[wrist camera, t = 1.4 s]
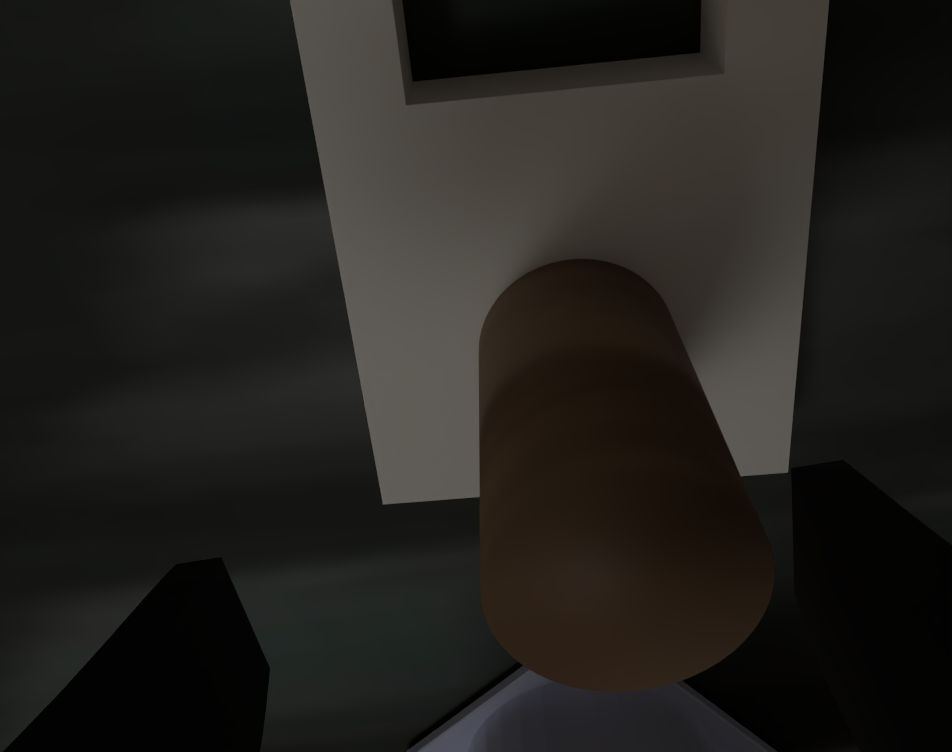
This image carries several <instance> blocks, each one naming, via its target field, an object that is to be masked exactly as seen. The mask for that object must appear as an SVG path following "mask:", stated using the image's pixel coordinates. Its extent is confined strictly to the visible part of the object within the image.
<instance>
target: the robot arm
mask: <svg viewBox="0 0 952 752" xmlns="http://www.w3.org/2000/svg"><path fill="white" fill-rule="evenodd" d="M791 477H792V513H793V549H794V584H795V595H796V598H797V601H798V604H799V607H800V610H801V613H802V616H803V619H804V622H805V625H806V628H807V631H808V634H809V637H810V640H811V643H812V645H813V648H814V651H815V654H816V657H817V660H818V662H819V665H820V668H821V670H822V672H823V675H824V677H825V679H826V681H827V683H828V685H829V687H830V689H831V692H832V694H833V696H834V698H835V700H836V702H837V704H838V706H839V708H840V710H841V712H842V714H843V716H844V719H845V721H846V723H847V725H848V727H849V729H850V731H851V733H852V735H853V737H854V739H855V741H856V743H857V745H858V747H859V749H860V752H952V545H951V544H949V543H948V542H947V541H945V540H944V539H943V538H941V537H940V536H939V535H938V534H936V533H935V532H934V531H932V530H931V529H930V528H928V527H927V526H926V525H925V524H923V523H922V522H921V521H919V520H918V519H917V518H916V517H914V516H913V515H912V514H910V513H909V512H908V511H907V510H905V509H904V508H903V507H902V506H900V505H899V504H898V503H897V502H895V501H894V500H893V499H892V498H890V497H889V496H888V495H887V494H885V493H884V492H883V491H882V490H880V489H879V488H878V487H877V486H875V485H874V484H873V483H872V482H870V481H869V480H868V479H867V478H865V477H864V476H863V475H862V474H860V473H859V472H858V471H857V470H855V469H854V468H853V467H852V466H850V465H849V464H847V463H846V462H845V461H843V460H841V461H834V462H828V463H821V464H815V465H809V466H802V467H796V468H791ZM269 673H270V667H269V665H268V663H267V661H266V658H265V656H264V654H263V651H262V649H261V647H260V645H259V642H258V640H257V638H256V636H255V633H254V631H253V629H252V626H251V624H250V622H249V620H248V617H247V615H246V613H245V610H244V608H243V606H242V604H241V601H240V599H239V597H238V595H237V592H236V590H235V588H234V585H233V583H232V581H231V579H230V576H229V574H228V572H227V569H226V567H225V565H224V563H223V560H222V558H221V557H220V558H213V559H207V560H200V561H194V562H188V563H181V564H176V565H175V566H174V567H173V568H172V569H171V570H170V571H169V572H168V573H167V574H166V575H165V576H164V577H163V578H162V579H161V581H160V582H159V583H158V584H157V585H156V586H155V587H154V588H153V589H152V590H151V592H150V593H149V594H148V595H147V596H146V597H145V598H144V599H143V600H142V602H141V603H140V604H139V605H138V606H137V607H136V608H135V610H134V611H133V612H132V613H131V614H130V615H129V616H128V617H127V619H126V620H125V621H124V622H123V623H122V624H121V625H120V627H119V628H118V629H117V630H116V631H115V632H114V633H113V634H112V636H111V637H110V638H109V639H108V640H107V641H106V642H105V643H104V645H103V646H102V647H101V648H100V649H99V650H98V651H97V652H96V653H95V655H94V656H93V657H92V658H91V659H90V660H89V661H88V662H87V663H86V665H85V666H84V667H83V668H82V669H81V670H80V671H79V672H78V674H77V675H76V676H75V677H74V678H73V679H72V680H71V681H70V682H69V684H68V685H67V686H66V687H65V688H64V689H63V690H62V691H61V692H60V693H59V694H58V695H57V697H56V698H55V699H54V700H53V701H52V702H51V703H50V704H49V705H48V706H47V707H46V708H45V709H44V710H43V711H42V712H41V713H40V714H39V715H38V716H37V717H36V718H35V719H34V720H33V721H32V722H31V723H30V724H29V725H28V726H27V728H26V729H25V730H24V731H23V732H22V733H21V734H20V735H19V736H18V737H17V738H16V739H15V740H14V741H13V742H12V743H11V744H10V745H9V746H8V747H7V748H6V749H5V750H4V751H3V752H260V747H261V742H262V734H263V727H264V719H265V712H266V702H267V692H268V683H269ZM407 752H777V751H776V750H775V749H773V748H772V747H771V746H769V745H768V744H766V743H765V742H764V741H762V740H761V739H760V738H758V737H757V736H756V735H754V734H753V733H752V732H750V731H749V730H748V729H746V728H745V727H744V726H742V725H741V724H740V723H738V722H737V721H736V720H734V719H733V718H732V717H730V716H729V715H728V714H726V713H725V712H724V711H722V710H721V709H720V708H718V707H717V706H716V705H714V704H713V703H711V702H710V701H709V700H707V699H706V698H705V697H703V696H702V695H701V694H699V693H698V692H697V691H695V690H694V689H693V688H691V687H690V686H689V685H687V684H686V683H685V682H683V681H679V682H676V683H673V684H670V685H666V686H662V687H658V688H653V689H647V690H640V691H629V692H600V691H592V690H584V689H579V688H575V687H570V686H566V685H563V684H560V683H557V682H554V681H551V680H549V679H547V678H545V677H543V676H540V675H538V674H536V673H535V672H533V671H531V670H530V669H528V668H526V667H525V666H522V667H521V668H519V669H518V670H516V671H515V672H514V673H512V674H511V675H510V676H508V677H507V678H506V679H504V680H503V681H501V682H500V683H499V684H497V685H496V686H495V687H493V688H492V689H491V690H489V691H488V692H486V693H485V694H484V695H482V696H481V697H480V698H478V699H477V700H476V701H474V702H473V703H471V704H470V705H469V706H467V707H466V708H465V709H463V710H462V711H461V712H459V713H458V714H456V715H455V716H454V717H452V718H451V719H450V720H448V721H447V722H446V723H444V724H443V725H441V726H440V727H439V728H437V729H436V730H435V731H433V732H432V733H431V734H429V735H428V736H426V737H425V738H424V739H422V740H421V741H420V742H418V743H417V744H416V745H414V746H413V747H412V748H410V749H409V750H408V751H407Z"/></svg>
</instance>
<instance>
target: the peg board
mask: <svg viewBox="0 0 952 752" xmlns="http://www.w3.org/2000/svg"><path fill="white" fill-rule="evenodd" d="M290 3H291V8H292V14H293V19H294V25H295V30H296V36H297V41H298V46H299V52H300V57H301V63H302V68H303V73H304V79H305V84H306V90H307V95H308V100H309V106H310V111H311V117H312V122H313V128H314V133H315V138H316V144H317V149H318V155H319V160H320V165H321V171H322V176H323V182H324V187H325V192H326V198H327V203H328V209H329V214H330V220H331V225H332V230H333V236H334V241H335V247H336V252H337V257H338V263H339V268H340V274H341V279H342V284H343V290H344V295H345V301H346V306H347V312H348V317H349V322H350V328H351V333H352V339H353V344H354V349H355V355H356V360H357V366H358V371H359V376H360V382H361V387H362V393H363V398H364V404H365V409H366V414H367V420H368V425H369V431H370V436H371V441H372V447H373V452H374V458H375V463H376V468H377V474H378V479H379V485H380V490H381V496H382V501H383V504H395V503H407V502H420V501H433V500H445V499H458V498H471V497H480V473H479V339H480V334H481V329H482V326H483V324H484V321H485V318H486V316H487V314H488V312H489V310H490V308H491V307H492V306H493V304H494V303H495V301H496V300H497V298H498V297H499V296H500V295H501V294H502V293H503V292H504V291H505V290H506V288H508V287H509V286H510V285H511V284H512V283H514V282H515V281H516V280H517V279H519V278H521V277H522V276H524V275H525V274H527V273H529V272H531V271H533V270H535V269H537V268H539V267H542V266H545V265H547V264H550V263H554V262H559V261H563V260H571V259H595V260H601V261H607V262H610V263H613V264H617V265H620V266H622V267H624V268H627V269H629V270H631V271H633V272H634V273H636V274H637V275H639V276H641V277H642V278H643V279H645V280H646V281H647V282H648V283H649V284H651V285H652V287H653V288H654V289H655V290H656V291H657V292H658V293H659V294H660V296H661V297H662V299H663V300H664V302H665V303H666V306H667V308H668V310H669V312H670V314H671V316H672V319H673V321H674V323H675V326H676V328H677V330H678V333H679V335H680V337H681V339H682V342H683V344H684V346H685V349H686V351H687V353H688V356H689V358H690V360H691V363H692V365H693V367H694V369H695V372H696V374H697V376H698V379H699V381H700V383H701V386H702V388H703V390H704V393H705V395H706V397H707V399H708V402H709V404H710V406H711V409H712V411H713V413H714V416H715V418H716V420H717V423H718V425H719V427H720V429H721V432H722V434H723V436H724V439H725V441H726V443H727V446H728V448H729V450H730V453H731V455H732V457H733V459H734V462H735V464H736V466H737V469H738V471H739V473H740V476H749V475H762V474H774V473H787V472H788V465H789V453H790V442H791V431H792V419H793V408H794V396H795V385H796V374H797V362H798V351H799V339H800V328H801V317H802V305H803V294H804V282H805V271H806V259H807V248H808V237H809V225H810V214H811V202H812V191H813V180H814V168H815V157H816V145H817V134H818V123H819V111H820V100H821V88H822V77H823V66H824V54H825V43H826V31H827V20H828V9H829V0H701V32H700V53H692V54H682V55H672V56H662V57H652V58H642V59H632V60H623V61H613V62H603V63H593V64H583V65H573V66H563V67H553V68H543V69H533V70H523V71H514V72H504V73H494V74H484V75H474V76H464V77H454V78H444V79H434V80H424V81H414V82H413V80H412V73H411V65H410V57H409V49H408V41H407V34H406V26H405V18H404V10H403V2H402V0H290Z"/></svg>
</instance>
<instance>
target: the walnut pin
mask: <svg viewBox="0 0 952 752" xmlns="http://www.w3.org/2000/svg"><path fill="white" fill-rule="evenodd" d="M479 473H480V593H481V602H482V608H483V612H484V615H485V618H486V621H487V623H488V625H489V627H490V629H491V631H492V633H493V635H494V636H495V638H496V639H497V641H498V642H499V643H500V645H501V646H502V647H503V648H504V649H505V650H506V651H507V652H508V653H509V654H510V655H511V656H512V657H513V658H514V659H515V660H517V661H518V662H519V663H521V664H522V665H523V666H525V667H526V668H528V669H530V670H531V671H533V672H535V673H536V674H538V675H540V676H543V677H545V678H547V679H549V680H551V681H554V682H557V683H560V684H563V685H566V686H570V687H575V688H579V689H584V690H592V691H600V692H629V691H640V690H647V689H653V688H658V687H662V686H666V685H670V684H673V683H676V682H679V681H682V680H684V679H687V678H690V677H692V676H694V675H696V674H698V673H701V672H703V671H705V670H707V669H708V668H710V667H712V666H713V665H715V664H717V663H718V662H720V661H721V660H723V659H724V658H725V657H727V656H728V655H729V654H731V653H732V652H733V651H734V650H736V649H737V648H738V647H739V646H740V645H741V644H742V643H743V642H744V641H745V640H746V639H747V638H748V636H749V635H750V634H751V633H752V632H753V630H754V629H755V628H756V626H757V625H758V623H759V622H760V620H761V618H762V617H763V615H764V613H765V611H766V609H767V606H768V604H769V602H770V598H771V595H772V591H773V587H774V577H775V567H774V557H773V553H772V550H771V546H770V543H769V540H768V538H767V536H766V533H765V531H764V529H763V526H762V524H761V522H760V519H759V517H758V515H757V513H756V510H755V508H754V506H753V503H752V501H751V499H750V496H749V494H748V492H747V489H746V487H745V485H744V483H743V480H742V478H741V476H740V473H739V471H738V469H737V466H736V464H735V462H734V459H733V457H732V455H731V453H730V450H729V448H728V446H727V443H726V441H725V439H724V436H723V434H722V432H721V429H720V427H719V425H718V423H717V420H716V418H715V416H714V413H713V411H712V409H711V406H710V404H709V402H708V399H707V397H706V395H705V393H704V390H703V388H702V386H701V383H700V381H699V379H698V376H697V374H696V372H695V369H694V367H693V365H692V363H691V360H690V358H689V356H688V353H687V351H686V349H685V346H684V344H683V342H682V339H681V337H680V335H679V333H678V330H677V328H676V326H675V323H674V321H673V319H672V316H671V314H670V312H669V310H668V308H667V306H666V303H665V302H664V300H663V299H662V297H661V296H660V294H659V293H658V292H657V291H656V290H655V289H654V288H653V287H652V285H651V284H649V283H648V282H647V281H646V280H645V279H643V278H642V277H641V276H639V275H637V274H636V273H634V272H633V271H631V270H629V269H627V268H624V267H622V266H620V265H617V264H613V263H610V262H607V261H601V260H595V259H571V260H563V261H559V262H554V263H550V264H547V265H545V266H542V267H539V268H537V269H535V270H533V271H531V272H529V273H527V274H525V275H524V276H522V277H521V278H519V279H517V280H516V281H515V282H514V283H512V284H511V285H510V286H509V287H508V288H506V290H505V291H504V292H503V293H502V294H501V295H500V296H499V297H498V298H497V300H496V301H495V303H494V304H493V306H492V307H491V308H490V310H489V312H488V314H487V316H486V318H485V321H484V324H483V326H482V329H481V334H480V339H479Z"/></svg>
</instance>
